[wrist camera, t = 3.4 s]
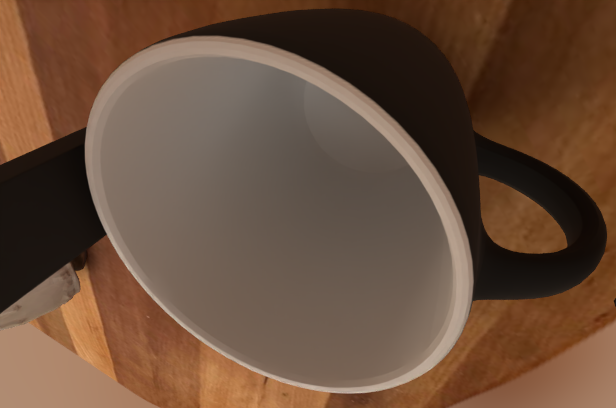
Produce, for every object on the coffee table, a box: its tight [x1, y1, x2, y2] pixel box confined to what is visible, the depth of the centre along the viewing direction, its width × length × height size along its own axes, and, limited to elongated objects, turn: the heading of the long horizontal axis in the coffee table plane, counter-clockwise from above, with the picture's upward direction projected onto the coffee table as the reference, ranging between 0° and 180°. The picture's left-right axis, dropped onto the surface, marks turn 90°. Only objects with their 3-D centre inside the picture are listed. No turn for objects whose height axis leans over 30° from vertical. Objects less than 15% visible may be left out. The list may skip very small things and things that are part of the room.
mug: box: [85, 9, 607, 393], centre depth 11 cm, size 12×9×10 cm
